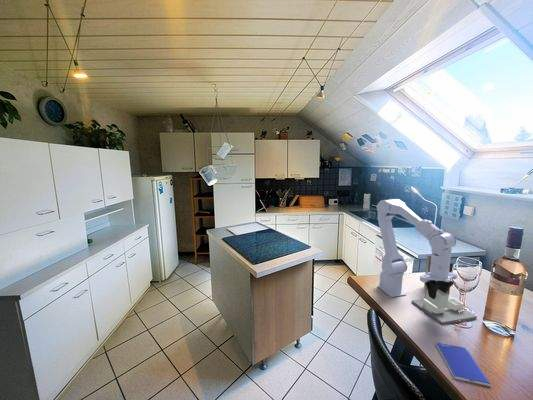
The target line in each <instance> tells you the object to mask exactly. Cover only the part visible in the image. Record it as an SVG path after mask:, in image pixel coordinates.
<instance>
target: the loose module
mask: <svg viewBox="0 0 533 400" xmlns="http://www.w3.org/2000/svg"><path fill="white" fill-rule="evenodd" d="M449 295H450V294H449ZM449 295H448V294H446V293H444V292H443V291H441V290H439V289H438V290H437V293H436V297H435V299H432V298H431V297H429V294H428V290H427V289H426V293H425V298H426V300H428V301H429V302H431V303H432V304H434V305H435V306H437V307H438V308H446V307H447V306H448V298H449Z"/></svg>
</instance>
